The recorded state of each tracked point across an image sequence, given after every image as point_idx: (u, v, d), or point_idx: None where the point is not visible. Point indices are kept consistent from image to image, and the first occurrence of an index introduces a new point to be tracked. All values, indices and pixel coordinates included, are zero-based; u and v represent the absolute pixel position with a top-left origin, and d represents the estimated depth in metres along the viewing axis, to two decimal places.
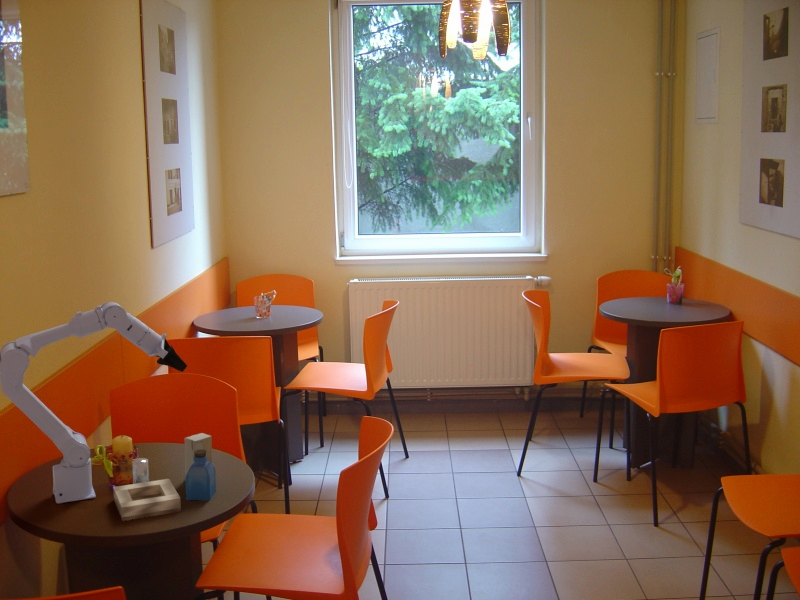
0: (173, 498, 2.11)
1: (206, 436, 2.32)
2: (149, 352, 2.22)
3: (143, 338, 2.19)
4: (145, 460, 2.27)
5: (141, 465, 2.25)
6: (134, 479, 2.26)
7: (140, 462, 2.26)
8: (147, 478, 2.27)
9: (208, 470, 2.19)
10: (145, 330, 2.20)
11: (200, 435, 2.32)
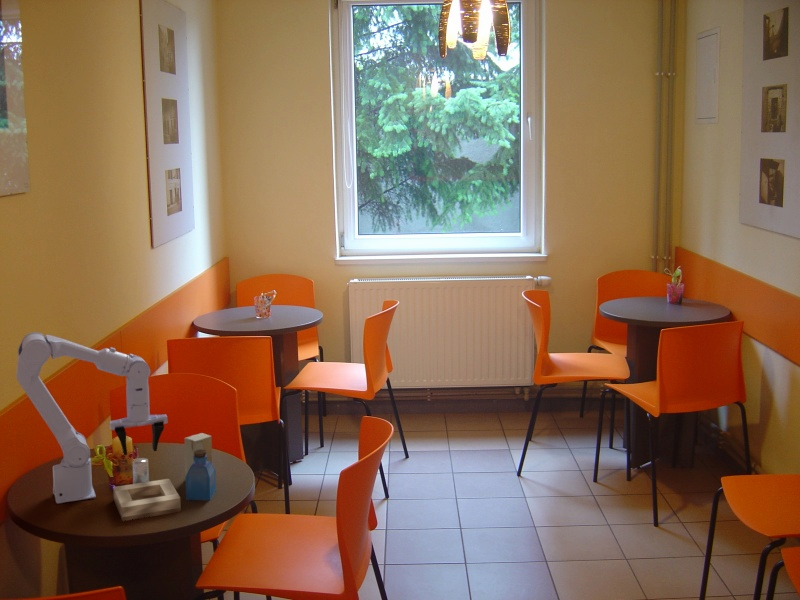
0: (173, 498, 2.11)
1: (206, 436, 2.32)
2: None
3: None
4: (145, 460, 2.27)
5: (141, 465, 2.25)
6: (134, 479, 2.26)
7: (140, 462, 2.26)
8: (147, 478, 2.27)
9: (207, 470, 2.19)
10: (146, 402, 2.23)
11: (200, 435, 2.32)
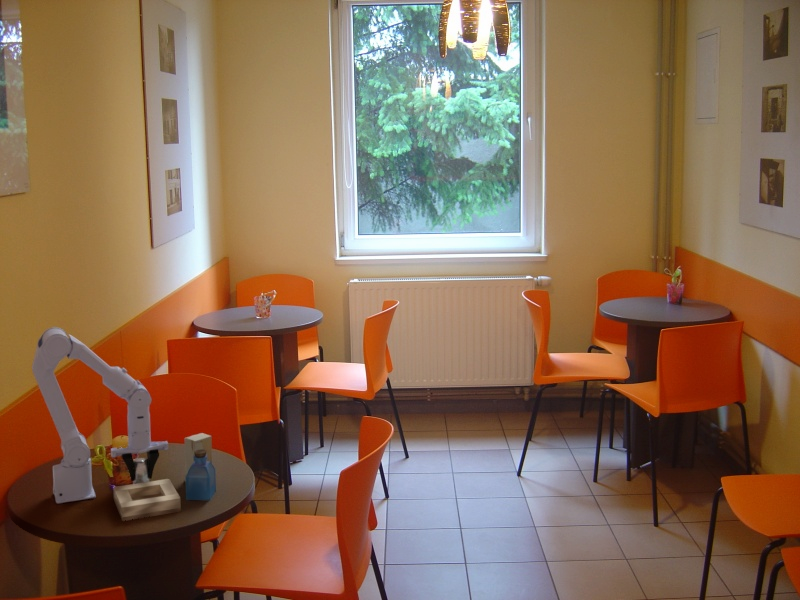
0: (173, 498, 2.11)
1: (206, 436, 2.32)
2: None
3: (128, 432, 2.24)
4: (145, 460, 2.27)
5: (141, 465, 2.25)
6: (134, 479, 2.26)
7: (140, 462, 2.26)
8: (147, 478, 2.27)
9: (208, 470, 2.19)
10: (147, 429, 2.24)
11: (200, 435, 2.32)
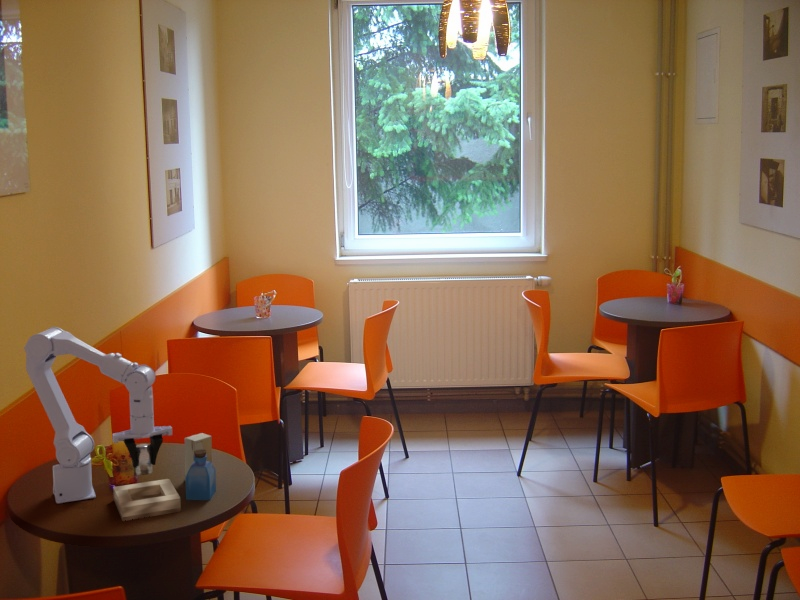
0: (173, 498, 2.11)
1: (206, 436, 2.32)
2: None
3: (130, 416, 2.15)
4: (148, 445, 2.18)
5: (144, 450, 2.16)
6: (137, 465, 2.17)
7: (143, 447, 2.17)
8: (150, 464, 2.18)
9: (208, 470, 2.19)
10: (145, 414, 2.14)
11: (200, 435, 2.32)
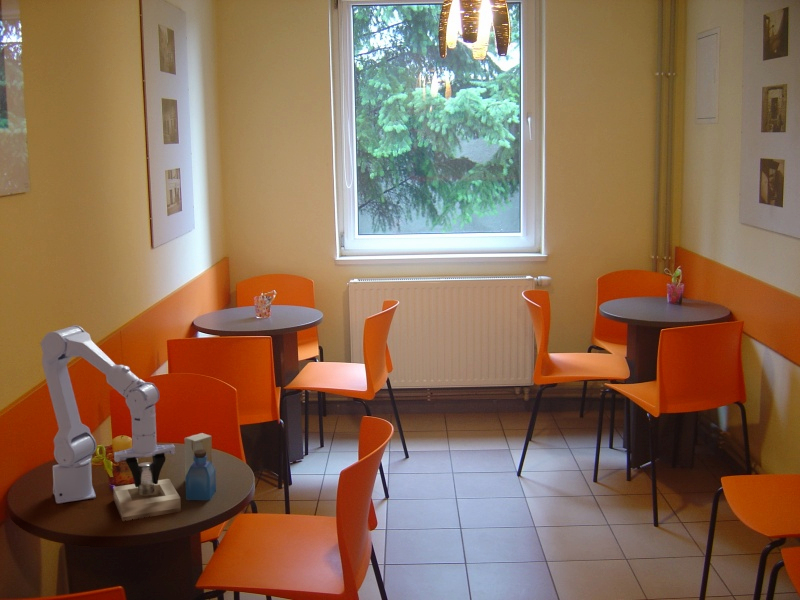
0: (173, 498, 2.11)
1: (206, 436, 2.32)
2: None
3: (132, 434, 2.11)
4: (150, 464, 2.14)
5: (146, 469, 2.12)
6: (139, 484, 2.13)
7: (145, 466, 2.13)
8: (152, 483, 2.14)
9: (208, 470, 2.19)
10: (145, 433, 2.10)
11: (200, 435, 2.32)
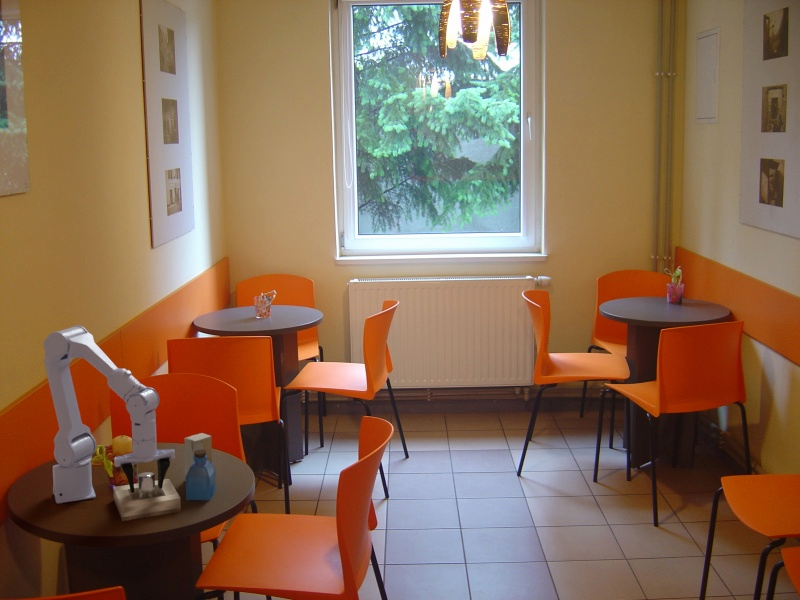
0: (173, 498, 2.11)
1: (206, 436, 2.32)
2: None
3: (132, 439, 2.11)
4: (151, 475, 2.14)
5: (147, 480, 2.13)
6: (140, 495, 2.13)
7: (146, 477, 2.13)
8: (153, 494, 2.15)
9: (208, 470, 2.19)
10: (145, 438, 2.10)
11: (200, 435, 2.32)
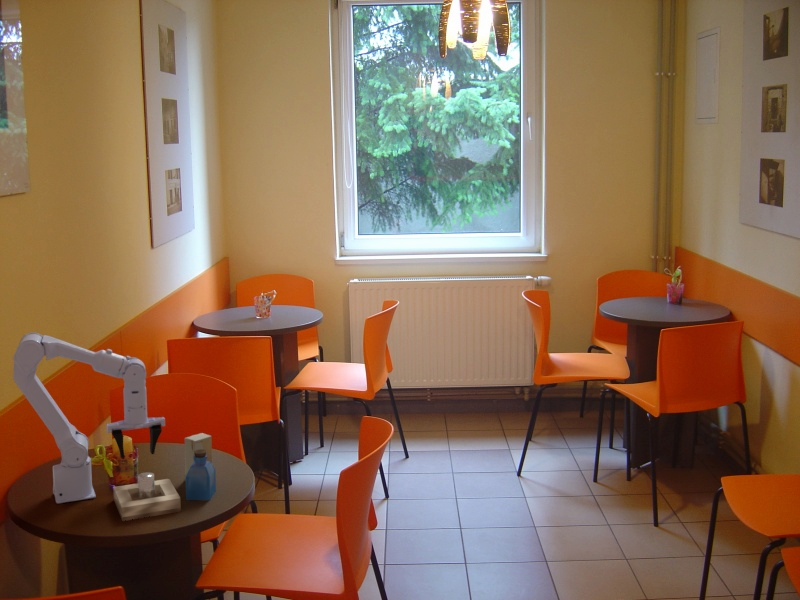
0: (173, 498, 2.11)
1: (206, 436, 2.32)
2: None
3: (124, 407, 2.21)
4: (151, 475, 2.14)
5: (147, 480, 2.13)
6: (140, 495, 2.13)
7: (146, 477, 2.13)
8: (153, 494, 2.15)
9: (208, 470, 2.19)
10: (142, 405, 2.21)
11: (200, 435, 2.32)
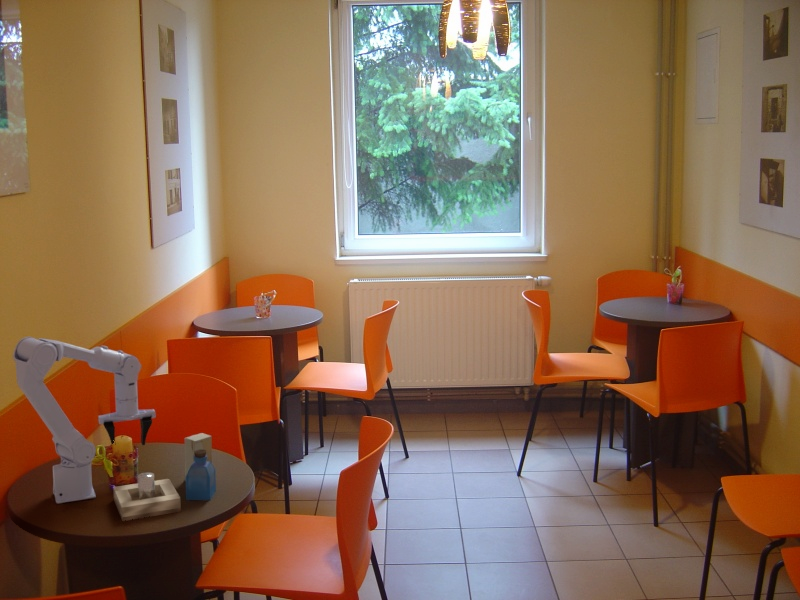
0: (173, 498, 2.11)
1: (206, 436, 2.32)
2: None
3: (115, 399, 2.28)
4: (151, 475, 2.14)
5: (147, 480, 2.13)
6: (140, 495, 2.13)
7: (146, 477, 2.13)
8: (153, 494, 2.15)
9: (208, 470, 2.19)
10: (136, 395, 2.29)
11: (200, 435, 2.32)
